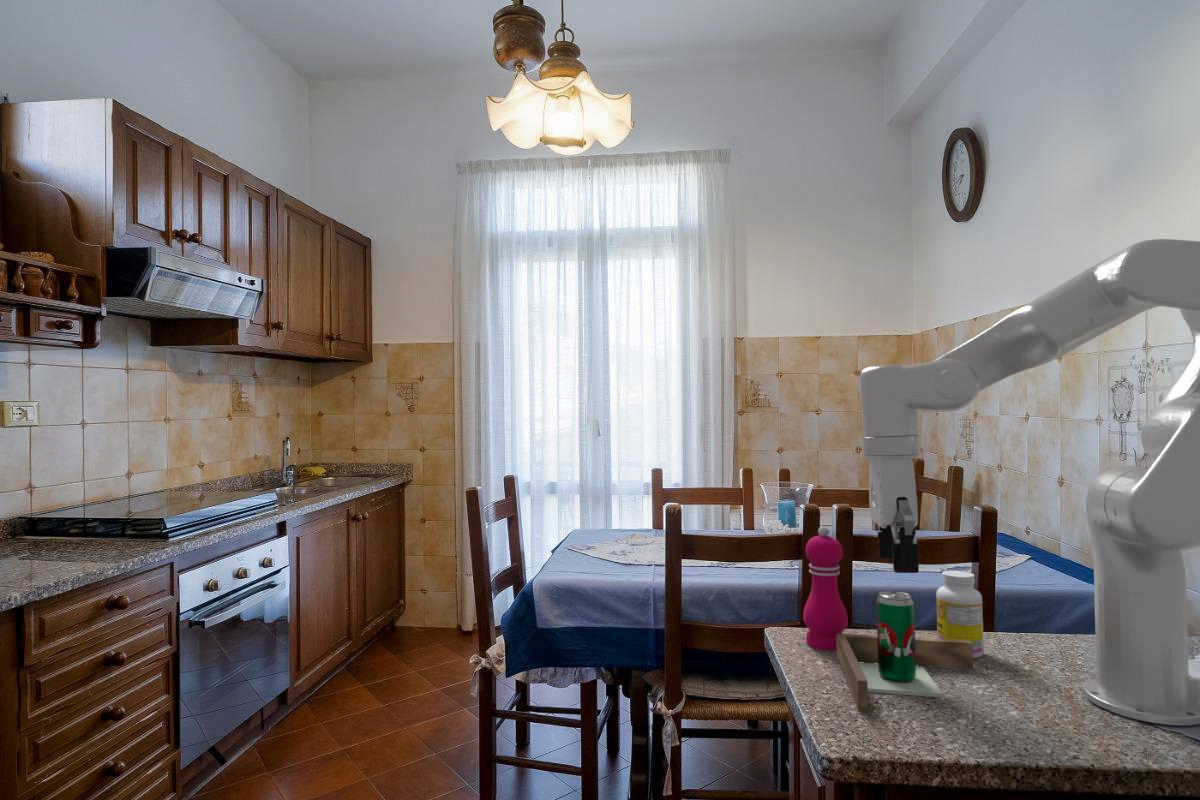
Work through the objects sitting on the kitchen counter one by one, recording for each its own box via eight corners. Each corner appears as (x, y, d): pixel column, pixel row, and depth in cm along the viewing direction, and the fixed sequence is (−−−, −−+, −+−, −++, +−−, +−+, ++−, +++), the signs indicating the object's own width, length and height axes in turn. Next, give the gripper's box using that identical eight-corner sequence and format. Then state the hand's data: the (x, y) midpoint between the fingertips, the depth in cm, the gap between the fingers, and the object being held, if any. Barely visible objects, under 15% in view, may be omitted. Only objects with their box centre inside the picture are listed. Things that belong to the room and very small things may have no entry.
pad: (922, 669, 100) (922, 666, 100) (942, 697, 90) (942, 693, 90) (853, 665, 102) (853, 662, 102) (865, 691, 92) (865, 688, 93)
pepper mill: (796, 638, 115) (794, 523, 115) (836, 636, 116) (833, 522, 116) (814, 653, 108) (812, 530, 108) (856, 651, 108) (853, 529, 109)
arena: (970, 666, 101) (969, 640, 101) (1023, 723, 82) (1022, 691, 83) (836, 658, 105) (836, 633, 105) (858, 711, 86) (857, 680, 87)
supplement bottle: (941, 642, 112) (939, 567, 112) (986, 650, 108) (983, 572, 109) (934, 654, 107) (932, 574, 107) (981, 663, 103) (979, 580, 103)
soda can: (910, 671, 98) (908, 590, 99) (920, 685, 93) (918, 600, 94) (874, 669, 99) (873, 589, 100) (882, 682, 94) (880, 598, 95)
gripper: (854, 446, 106) (860, 553, 106) (875, 452, 90) (883, 578, 89) (903, 445, 105) (910, 553, 104) (935, 450, 88) (943, 579, 87)
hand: (897, 564), depth 97 cm, fingers open, 9 cm apart
